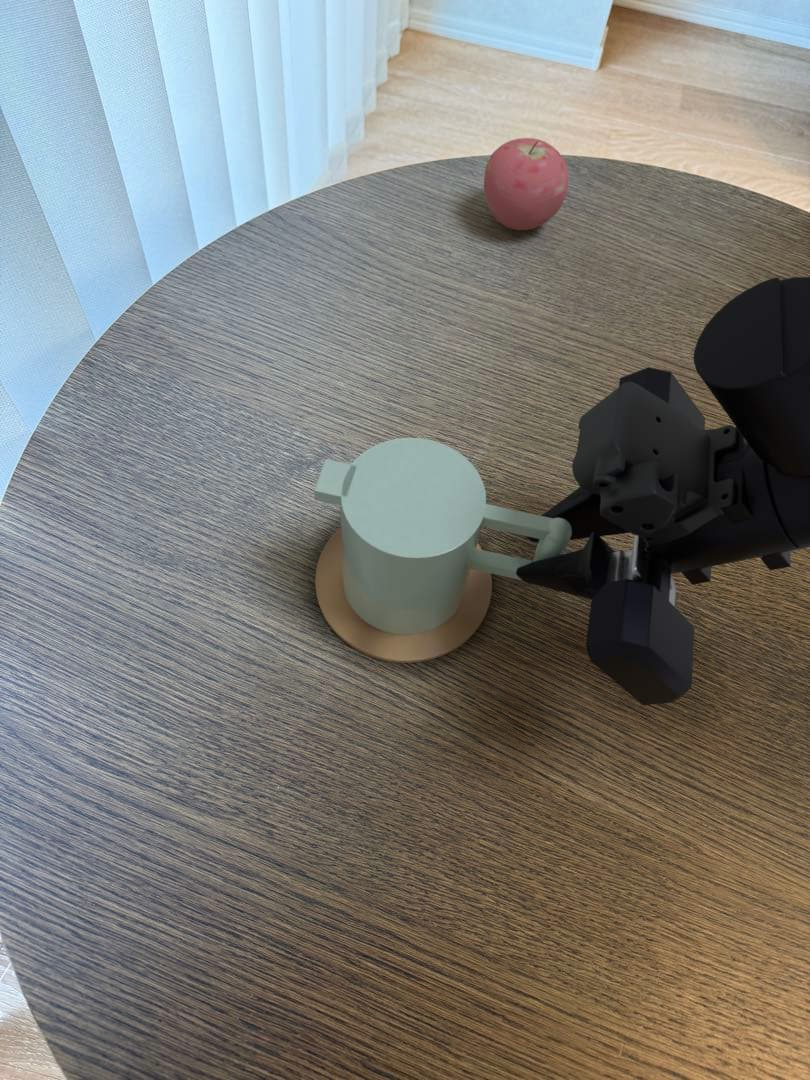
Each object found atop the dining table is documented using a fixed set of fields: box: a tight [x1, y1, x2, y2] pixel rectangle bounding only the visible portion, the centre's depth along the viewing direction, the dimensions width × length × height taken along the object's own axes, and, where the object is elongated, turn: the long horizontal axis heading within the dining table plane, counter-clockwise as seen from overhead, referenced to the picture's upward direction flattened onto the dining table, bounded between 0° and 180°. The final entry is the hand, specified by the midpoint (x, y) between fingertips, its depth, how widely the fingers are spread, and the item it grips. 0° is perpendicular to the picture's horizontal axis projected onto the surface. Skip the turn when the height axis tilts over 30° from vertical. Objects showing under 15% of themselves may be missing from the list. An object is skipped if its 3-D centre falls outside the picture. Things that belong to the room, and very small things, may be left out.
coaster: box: [314, 526, 493, 664], centre depth 56 cm, size 12×12×1 cm
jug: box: [313, 437, 572, 635], centre depth 51 cm, size 15×8×10 cm, turn 77°
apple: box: [483, 137, 570, 231], centre depth 73 cm, size 7×7×8 cm
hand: (523, 555), depth 50 cm, fingers open, 3 cm apart
